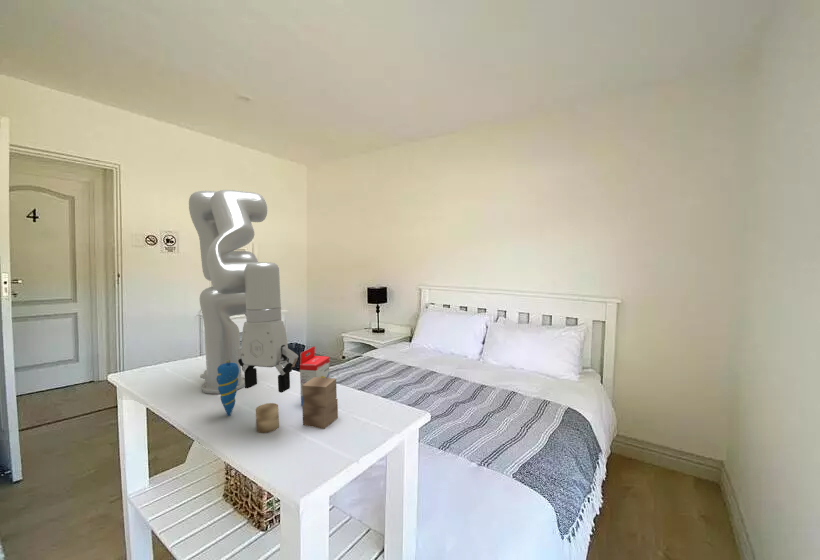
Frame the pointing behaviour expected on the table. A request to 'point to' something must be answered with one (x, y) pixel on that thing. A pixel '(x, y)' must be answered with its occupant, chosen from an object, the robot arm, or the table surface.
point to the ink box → (312, 367)
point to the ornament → (228, 384)
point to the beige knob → (267, 418)
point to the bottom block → (320, 415)
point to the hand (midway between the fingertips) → (267, 388)
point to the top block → (319, 392)
